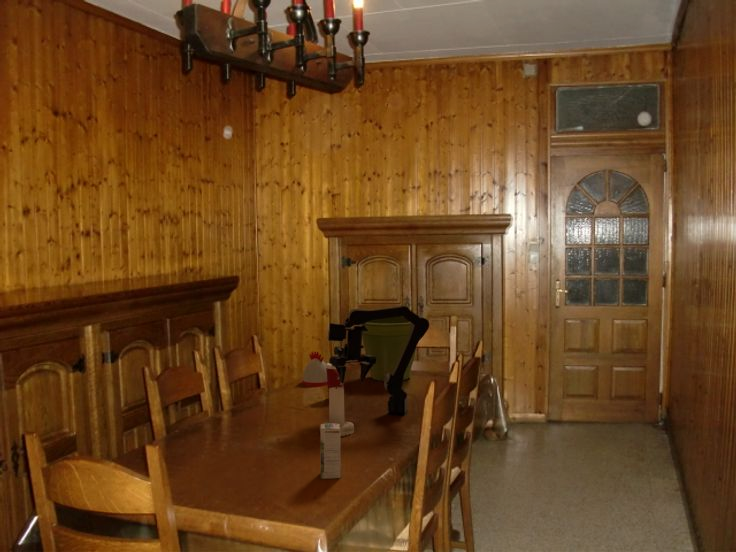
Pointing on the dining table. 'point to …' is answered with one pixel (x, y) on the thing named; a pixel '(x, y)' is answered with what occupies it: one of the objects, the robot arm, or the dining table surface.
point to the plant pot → (387, 344)
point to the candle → (336, 405)
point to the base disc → (344, 428)
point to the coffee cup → (332, 377)
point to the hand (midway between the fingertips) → (351, 382)
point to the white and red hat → (315, 371)
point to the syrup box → (330, 451)
